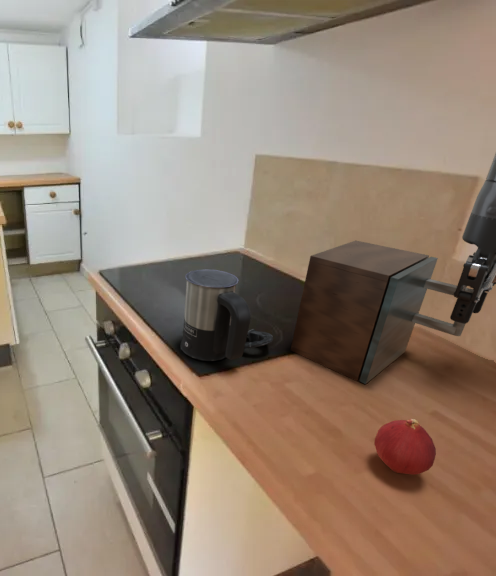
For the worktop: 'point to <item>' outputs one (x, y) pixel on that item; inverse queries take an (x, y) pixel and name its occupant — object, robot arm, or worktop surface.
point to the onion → (405, 447)
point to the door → (405, 316)
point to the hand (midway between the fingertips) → (464, 315)
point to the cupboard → (346, 303)
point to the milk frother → (217, 318)
